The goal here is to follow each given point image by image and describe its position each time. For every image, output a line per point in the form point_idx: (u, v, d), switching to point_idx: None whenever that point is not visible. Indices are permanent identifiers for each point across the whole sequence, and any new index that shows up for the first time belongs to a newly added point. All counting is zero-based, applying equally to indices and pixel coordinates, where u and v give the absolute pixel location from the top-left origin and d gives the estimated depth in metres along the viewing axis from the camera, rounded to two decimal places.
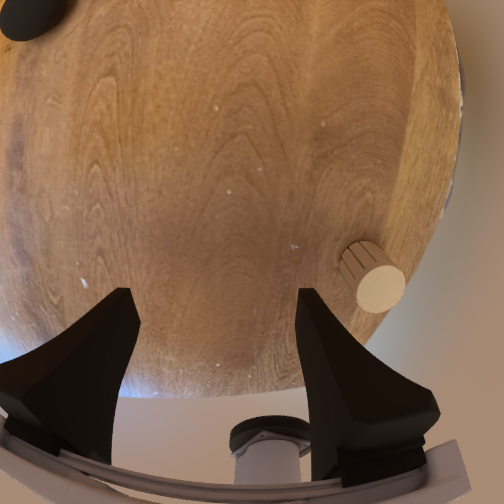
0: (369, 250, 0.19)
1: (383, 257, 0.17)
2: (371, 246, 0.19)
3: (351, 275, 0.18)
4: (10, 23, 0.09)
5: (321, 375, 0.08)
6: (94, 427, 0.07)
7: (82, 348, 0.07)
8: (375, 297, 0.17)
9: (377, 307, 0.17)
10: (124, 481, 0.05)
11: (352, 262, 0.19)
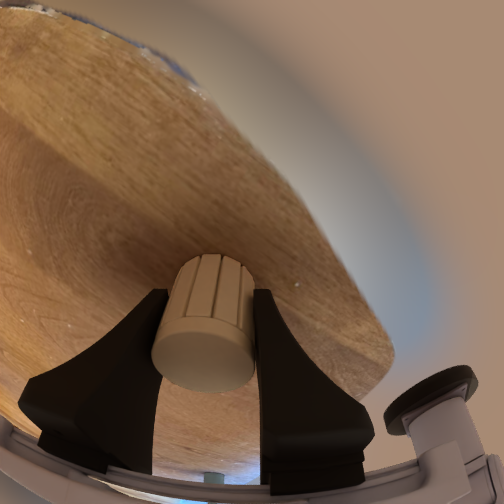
0: (166, 304, 0.11)
1: (163, 316, 0.10)
2: (173, 285, 0.11)
3: None
4: None
5: (260, 378, 0.08)
6: (138, 437, 0.07)
7: (127, 355, 0.07)
8: (211, 376, 0.09)
9: (235, 379, 0.09)
10: (124, 481, 0.05)
11: None
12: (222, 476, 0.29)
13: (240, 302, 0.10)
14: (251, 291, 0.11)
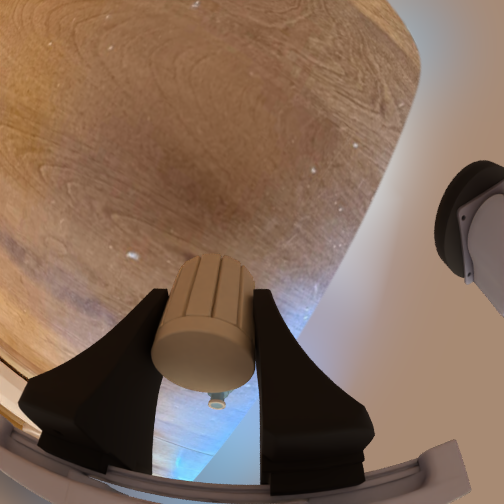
0: (166, 304, 0.11)
1: (163, 316, 0.10)
2: (173, 285, 0.11)
3: None
4: None
5: (260, 378, 0.08)
6: (138, 437, 0.07)
7: (127, 355, 0.07)
8: (211, 376, 0.09)
9: (235, 379, 0.09)
10: (124, 481, 0.05)
11: None
12: None
13: (240, 302, 0.10)
14: (251, 291, 0.11)
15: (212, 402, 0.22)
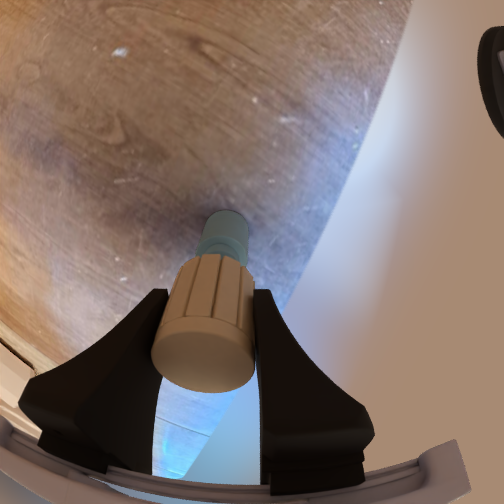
0: (166, 304, 0.11)
1: (163, 316, 0.10)
2: (173, 285, 0.11)
3: None
4: None
5: (260, 378, 0.08)
6: (138, 437, 0.07)
7: (127, 355, 0.07)
8: (211, 376, 0.09)
9: (235, 379, 0.09)
10: (124, 481, 0.05)
11: None
12: (245, 222, 0.17)
13: (240, 302, 0.10)
14: (251, 291, 0.11)
15: None
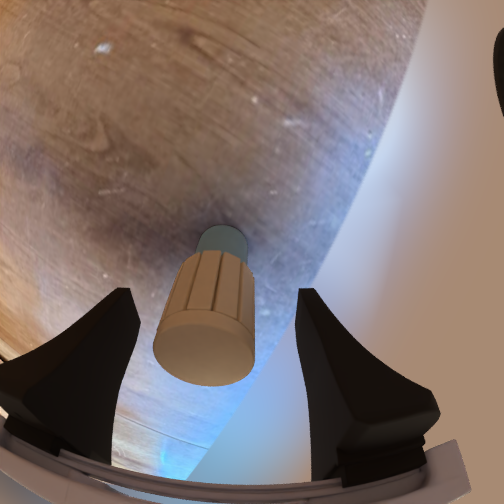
0: (168, 299, 0.11)
1: (165, 310, 0.10)
2: (175, 281, 0.12)
3: None
4: None
5: (321, 375, 0.08)
6: (94, 427, 0.07)
7: (82, 348, 0.07)
8: (211, 369, 0.10)
9: (235, 372, 0.10)
10: (124, 481, 0.05)
11: None
12: (244, 239, 0.16)
13: (240, 296, 0.10)
14: (251, 286, 0.12)
15: None
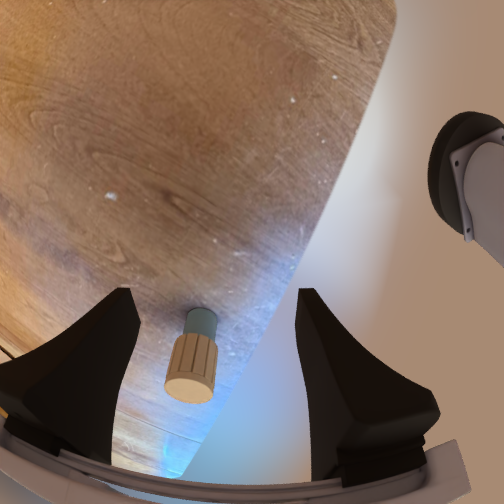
0: (170, 359, 0.20)
1: (169, 368, 0.19)
2: (173, 349, 0.21)
3: None
4: None
5: (321, 375, 0.08)
6: (94, 427, 0.07)
7: (82, 348, 0.07)
8: (192, 396, 0.19)
9: (204, 398, 0.19)
10: (124, 481, 0.05)
11: None
12: (214, 316, 0.25)
13: (206, 362, 0.19)
14: (213, 353, 0.21)
15: None
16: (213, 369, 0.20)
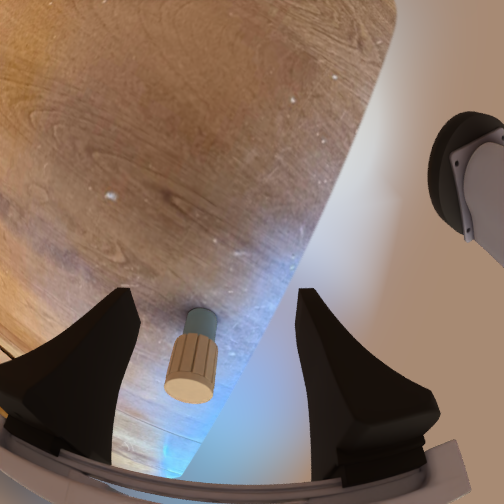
0: (170, 359, 0.20)
1: (169, 368, 0.19)
2: (173, 349, 0.21)
3: None
4: None
5: (321, 375, 0.08)
6: (94, 427, 0.07)
7: (82, 348, 0.07)
8: (192, 396, 0.19)
9: (204, 398, 0.19)
10: (124, 481, 0.05)
11: None
12: (214, 316, 0.25)
13: (206, 362, 0.19)
14: (213, 353, 0.21)
15: None
16: (213, 369, 0.20)
